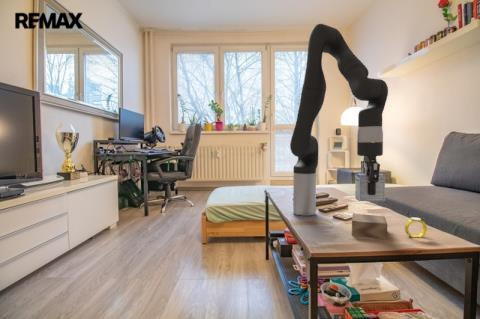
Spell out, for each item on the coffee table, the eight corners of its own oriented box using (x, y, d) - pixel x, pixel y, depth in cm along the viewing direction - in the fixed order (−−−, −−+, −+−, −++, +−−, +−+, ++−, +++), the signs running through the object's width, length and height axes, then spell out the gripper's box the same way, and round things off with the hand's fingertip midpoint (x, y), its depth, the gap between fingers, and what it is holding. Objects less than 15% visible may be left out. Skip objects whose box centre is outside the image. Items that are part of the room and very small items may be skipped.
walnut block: (351, 236, 87) (351, 220, 87) (352, 227, 96) (352, 213, 96) (387, 240, 83) (387, 224, 83) (384, 230, 92) (384, 216, 92)
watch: (408, 239, 84) (407, 220, 83) (403, 236, 86) (402, 217, 86) (428, 237, 83) (427, 218, 83) (422, 234, 86) (422, 216, 86)
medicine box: (379, 199, 91) (379, 173, 90) (385, 201, 86) (385, 174, 86) (354, 198, 92) (355, 173, 91) (359, 201, 87) (359, 174, 87)
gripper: (353, 141, 96) (352, 189, 97) (362, 141, 82) (362, 197, 83) (375, 141, 94) (375, 189, 95) (389, 140, 80) (389, 197, 81)
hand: (369, 193), depth 89 cm, fingers closed on medicine box, 4 cm apart
